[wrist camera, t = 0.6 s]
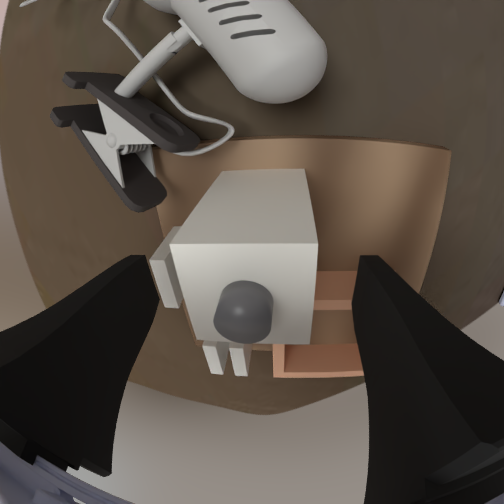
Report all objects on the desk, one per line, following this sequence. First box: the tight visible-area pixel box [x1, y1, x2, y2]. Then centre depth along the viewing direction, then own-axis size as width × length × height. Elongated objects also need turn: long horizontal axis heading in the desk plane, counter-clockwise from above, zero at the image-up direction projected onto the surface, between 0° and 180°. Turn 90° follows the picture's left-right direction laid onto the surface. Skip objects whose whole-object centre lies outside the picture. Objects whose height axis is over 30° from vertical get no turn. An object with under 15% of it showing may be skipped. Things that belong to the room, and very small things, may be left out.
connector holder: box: [273, 270, 396, 378], centre depth 17 cm, size 7×7×2 cm
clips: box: [149, 226, 253, 376], centre depth 16 cm, size 4×9×3 cm, turn 4°
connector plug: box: [169, 169, 318, 344], centre depth 11 cm, size 4×4×8 cm
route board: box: [152, 135, 451, 351], centre depth 16 cm, size 16×15×1 cm
